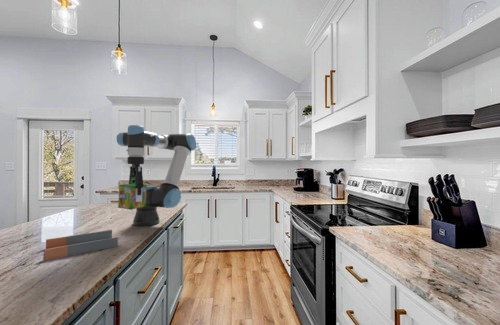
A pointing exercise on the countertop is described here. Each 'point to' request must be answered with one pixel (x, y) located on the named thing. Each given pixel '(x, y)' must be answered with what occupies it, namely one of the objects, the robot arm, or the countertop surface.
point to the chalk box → (130, 196)
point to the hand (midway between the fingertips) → (135, 200)
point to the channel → (79, 244)
